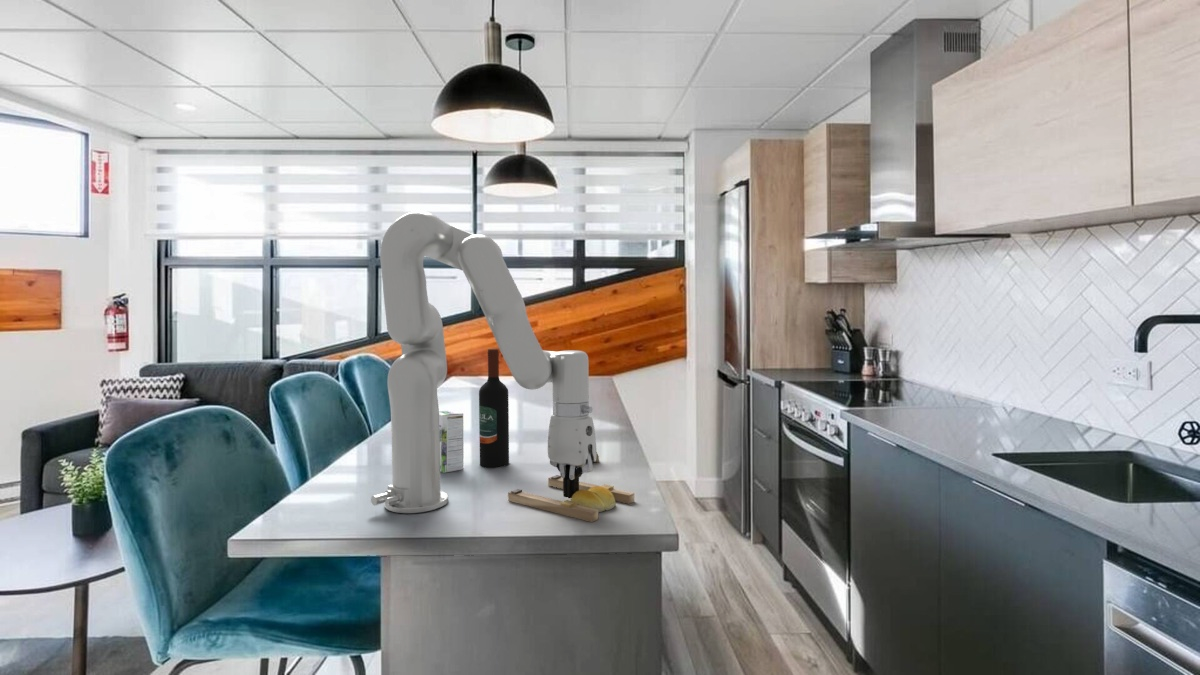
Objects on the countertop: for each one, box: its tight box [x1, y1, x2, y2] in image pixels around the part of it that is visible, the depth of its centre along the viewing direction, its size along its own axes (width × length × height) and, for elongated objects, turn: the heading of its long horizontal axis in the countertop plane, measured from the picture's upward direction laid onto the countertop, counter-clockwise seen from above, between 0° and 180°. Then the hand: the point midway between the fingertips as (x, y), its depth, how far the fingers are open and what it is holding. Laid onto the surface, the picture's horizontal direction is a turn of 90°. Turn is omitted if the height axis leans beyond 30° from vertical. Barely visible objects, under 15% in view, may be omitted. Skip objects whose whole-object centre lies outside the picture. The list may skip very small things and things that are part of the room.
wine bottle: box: [478, 348, 510, 469], centre depth 156 cm, size 8×8×30 cm
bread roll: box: [570, 485, 616, 513], centre depth 123 cm, size 8×9×4 cm
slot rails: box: [507, 474, 635, 523], centre depth 127 cm, size 15×22×2 cm
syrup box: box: [439, 410, 465, 474], centre depth 152 cm, size 6×6×14 cm
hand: (571, 495), depth 127 cm, fingers closed
